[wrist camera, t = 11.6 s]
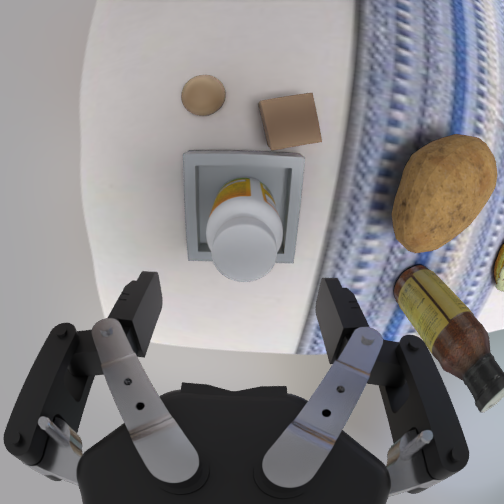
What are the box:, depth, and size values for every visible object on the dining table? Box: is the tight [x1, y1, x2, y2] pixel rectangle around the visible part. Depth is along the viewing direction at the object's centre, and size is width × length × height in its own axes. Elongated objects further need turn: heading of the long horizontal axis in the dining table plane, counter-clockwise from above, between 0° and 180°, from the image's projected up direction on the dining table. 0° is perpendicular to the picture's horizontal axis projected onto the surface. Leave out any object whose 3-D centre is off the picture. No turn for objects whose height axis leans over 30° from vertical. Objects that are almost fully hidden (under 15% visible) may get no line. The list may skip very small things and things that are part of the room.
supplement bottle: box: [206, 177, 283, 282], centre depth 21 cm, size 5×5×10 cm
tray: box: [183, 150, 305, 263], centre depth 25 cm, size 10×10×2 cm
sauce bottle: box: [394, 265, 504, 413], centre depth 22 cm, size 6×6×20 cm
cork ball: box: [181, 75, 225, 116], centre depth 19 cm, size 4×4×4 cm
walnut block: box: [258, 93, 322, 151], centre depth 21 cm, size 4×4×4 cm
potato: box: [392, 134, 497, 253], centre depth 21 cm, size 10×14×8 cm
